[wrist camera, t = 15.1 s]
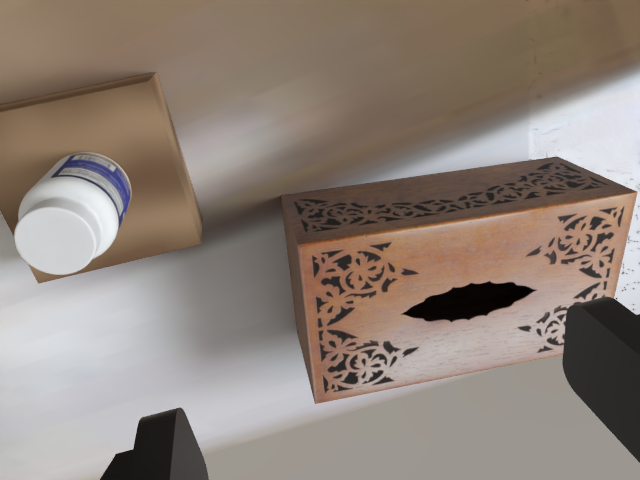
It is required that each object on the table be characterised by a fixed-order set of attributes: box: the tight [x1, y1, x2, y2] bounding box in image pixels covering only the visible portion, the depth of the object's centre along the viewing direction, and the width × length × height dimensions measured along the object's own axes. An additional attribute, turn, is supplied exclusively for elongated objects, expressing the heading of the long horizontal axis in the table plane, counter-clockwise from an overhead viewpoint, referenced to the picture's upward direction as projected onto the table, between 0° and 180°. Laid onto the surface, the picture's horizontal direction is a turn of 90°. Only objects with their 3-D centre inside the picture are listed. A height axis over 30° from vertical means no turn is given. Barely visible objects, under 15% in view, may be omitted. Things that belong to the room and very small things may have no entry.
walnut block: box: [0, 72, 203, 283], centre depth 36 cm, size 12×12×5 cm
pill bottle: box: [14, 152, 132, 275], centre depth 30 cm, size 5×5×9 cm
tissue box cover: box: [281, 157, 637, 404], centre depth 42 cm, size 26×14×10 cm, turn 95°
